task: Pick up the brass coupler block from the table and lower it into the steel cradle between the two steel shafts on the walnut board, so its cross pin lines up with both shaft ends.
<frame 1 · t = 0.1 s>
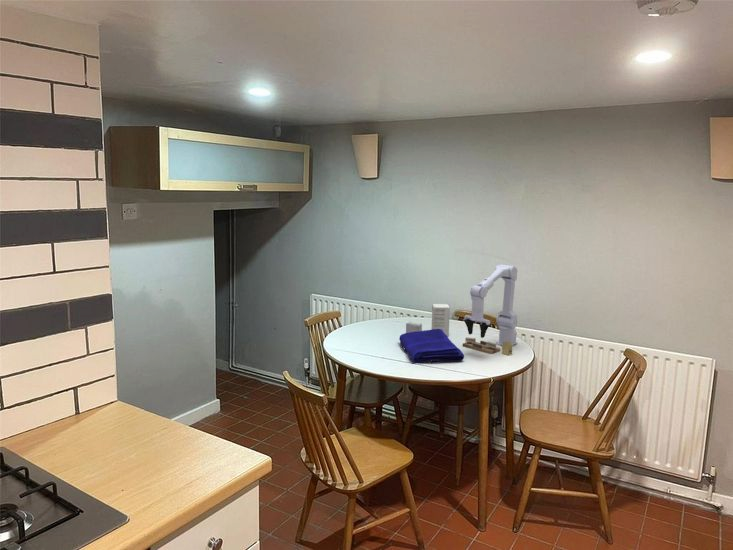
hand: (476, 335, 272), 10 cm above the table, tool pointing down, fingers open, 7 cm apart
supplement box: (439, 334, 310), on the table
towel: (429, 353, 277), on the table
coupler: (507, 353, 276), on the table
medicine box: (413, 338, 301), on the table
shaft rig: (480, 348, 284), on the table
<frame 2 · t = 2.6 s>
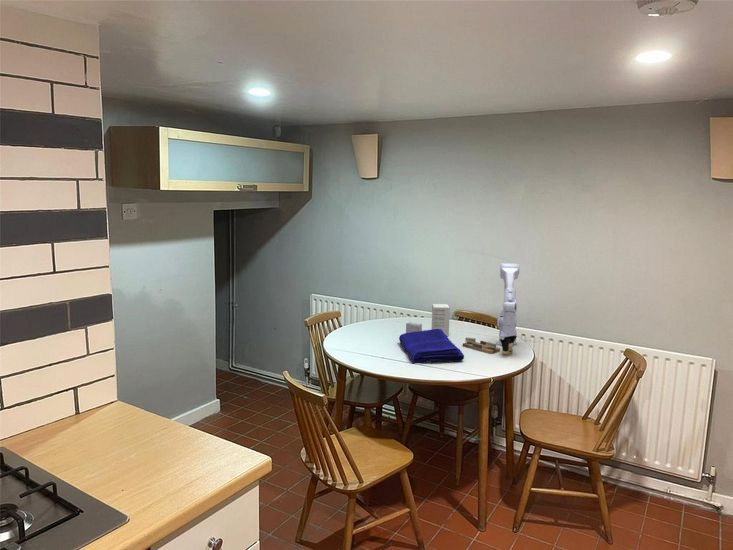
hand: (507, 350, 275), 2 cm above the table, tool pointing down, fingers closed on coupler, 4 cm apart
coupler: (507, 353, 276), on the table, touching gripper
everything else where it was.
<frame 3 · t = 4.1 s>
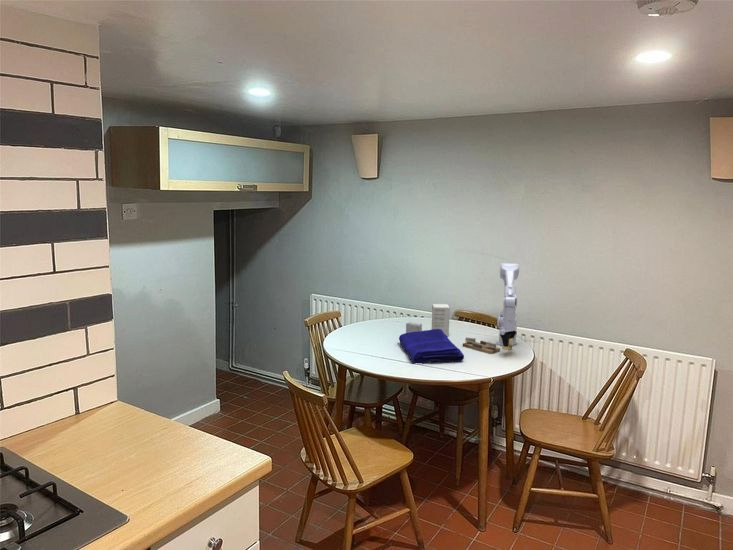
hand: (507, 345, 275), 4 cm above the table, tool pointing down, fingers closed on coupler, 4 cm apart
coupler: (507, 349, 275), point 2 cm above the table, touching gripper
everything else where it was.
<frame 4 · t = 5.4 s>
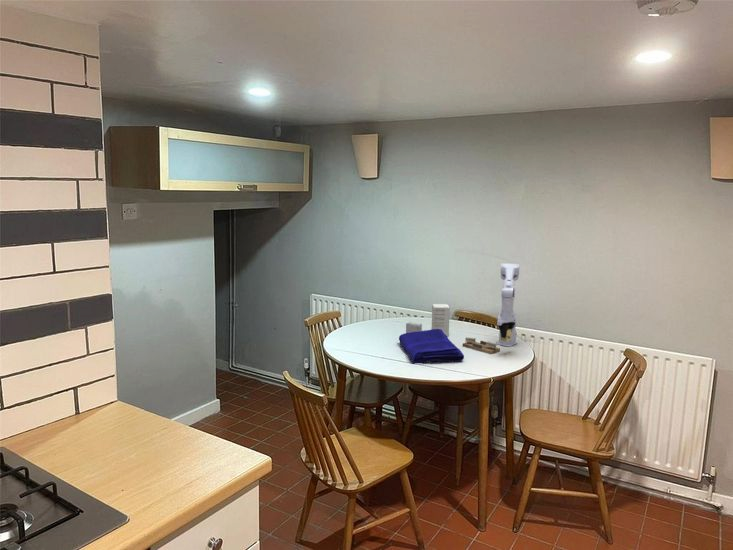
hand: (505, 336, 275), 9 cm above the table, tool pointing down, fingers closed on coupler, 4 cm apart
coupler: (505, 340, 275), point 7 cm above the table, touching gripper
everything else where it was.
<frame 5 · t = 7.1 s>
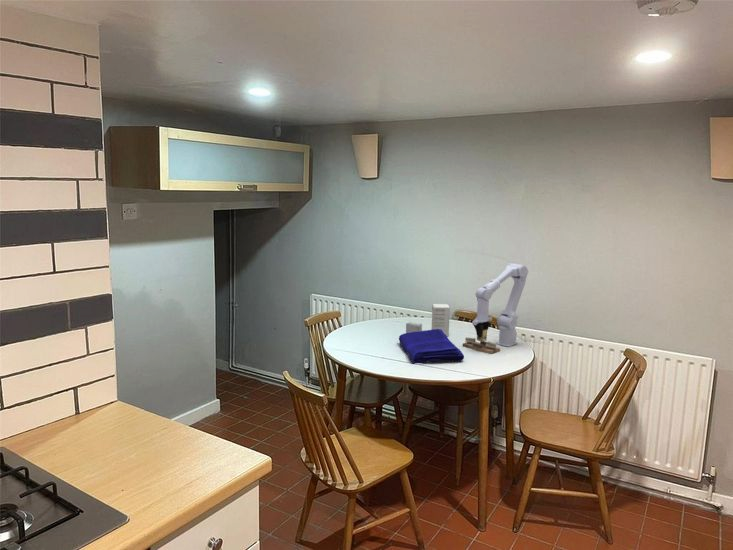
hand: (481, 336, 283), 7 cm above the table, tool pointing down, fingers closed on coupler, 4 cm apart
coupler: (481, 340, 283), point 5 cm above the table, touching gripper
everything else where it was.
when the fingers open (4 cm above the table, at t = 8.4 s): coupler stays where it is, resting on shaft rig.
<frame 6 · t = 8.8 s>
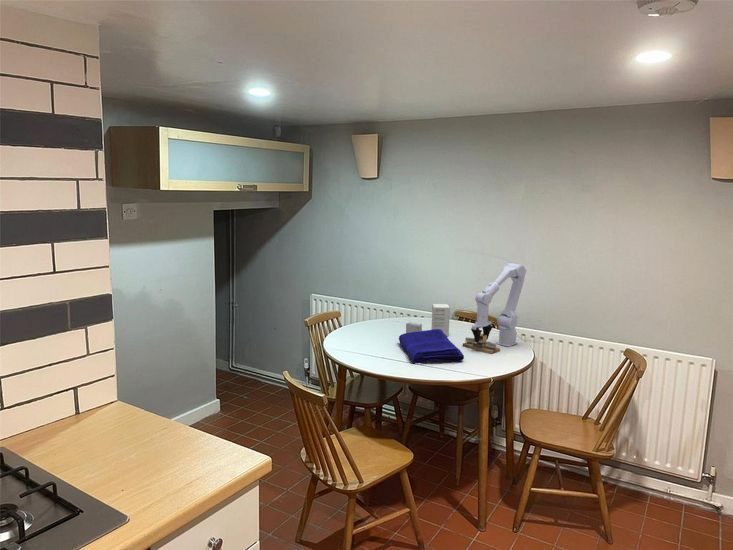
hand: (481, 340, 283), 4 cm above the table, tool pointing down, fingers open, 7 cm apart
coupler: (481, 345, 283), point 1 cm above the table, touching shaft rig
everything else where it was.
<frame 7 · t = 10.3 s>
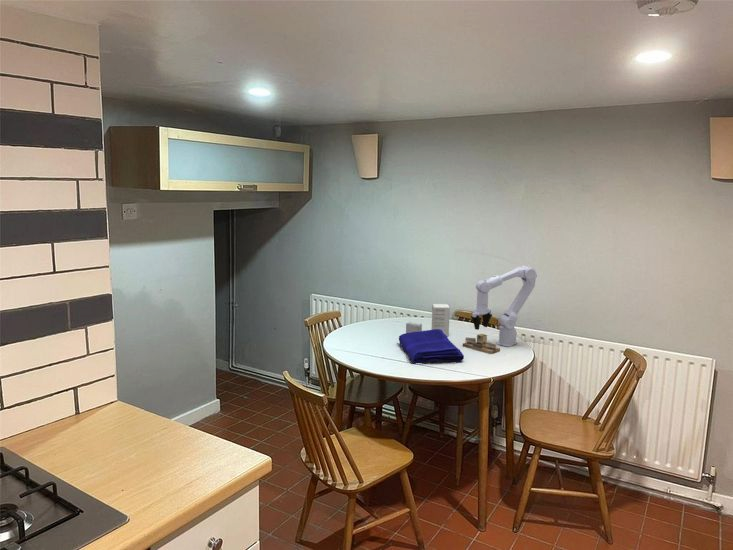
hand: (481, 328, 288), 9 cm above the table, tool pointing down, fingers open, 7 cm apart
nothing on the table moved.
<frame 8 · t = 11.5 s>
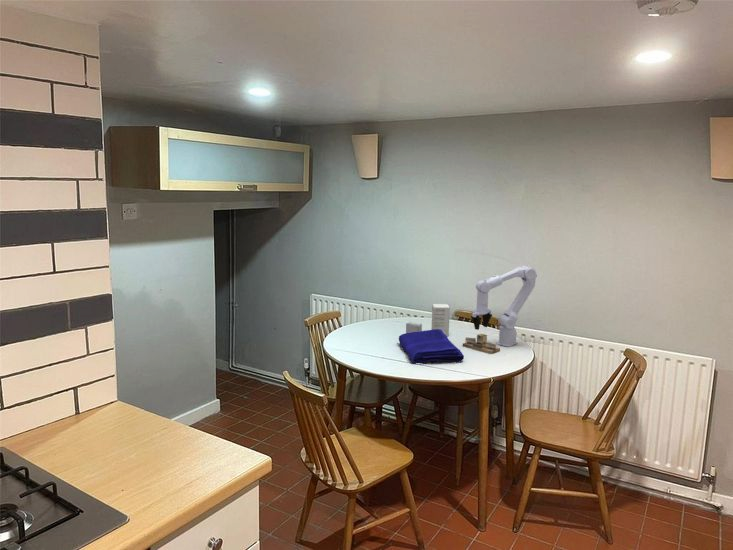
hand: (481, 328, 288), 9 cm above the table, tool pointing down, fingers open, 7 cm apart
nothing on the table moved.
at the end: coupler 0.3 cm off-centre on the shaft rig, point 1.5 cm above the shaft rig's base; coupler tilted 0°; the gripper is holding nothing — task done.
